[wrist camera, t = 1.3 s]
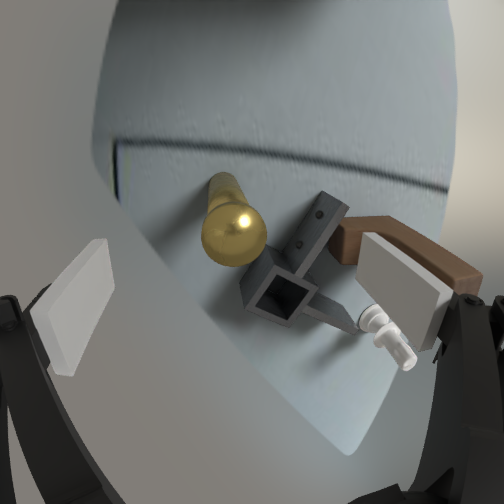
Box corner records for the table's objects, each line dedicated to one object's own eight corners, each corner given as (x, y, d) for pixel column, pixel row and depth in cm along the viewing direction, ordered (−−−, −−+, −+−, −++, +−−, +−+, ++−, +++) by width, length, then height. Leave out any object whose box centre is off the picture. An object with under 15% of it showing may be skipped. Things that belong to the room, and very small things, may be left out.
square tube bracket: (305, 179, 33) (323, 189, 28) (389, 239, 38) (413, 256, 33) (239, 282, 37) (244, 309, 32) (328, 323, 42) (342, 349, 37)
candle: (354, 331, 44) (388, 384, 33) (365, 302, 42) (405, 353, 31) (381, 330, 44) (417, 379, 33) (392, 303, 43) (434, 349, 32)
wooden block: (327, 251, 37) (401, 337, 21) (329, 217, 36) (414, 288, 19) (386, 246, 38) (471, 316, 22) (389, 214, 37) (485, 273, 20)
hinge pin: (206, 169, 32) (200, 205, 16) (240, 169, 32) (268, 204, 17) (206, 203, 33) (202, 267, 18) (240, 202, 34) (265, 265, 18)
